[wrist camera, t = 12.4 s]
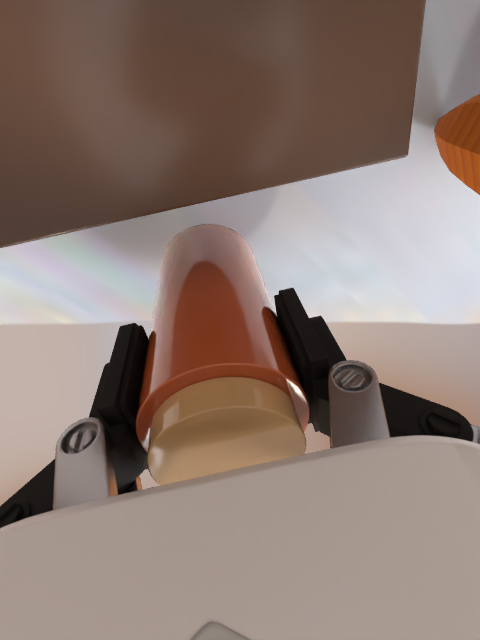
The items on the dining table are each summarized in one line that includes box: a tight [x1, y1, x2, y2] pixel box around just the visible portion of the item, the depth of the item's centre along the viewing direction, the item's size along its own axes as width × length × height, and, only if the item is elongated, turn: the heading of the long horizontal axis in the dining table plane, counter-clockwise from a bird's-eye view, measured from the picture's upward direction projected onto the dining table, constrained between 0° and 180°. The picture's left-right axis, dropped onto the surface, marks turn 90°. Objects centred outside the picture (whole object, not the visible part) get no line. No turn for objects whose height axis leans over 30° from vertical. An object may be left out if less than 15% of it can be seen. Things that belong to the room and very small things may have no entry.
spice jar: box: [135, 224, 310, 486], centre depth 13 cm, size 5×5×11 cm
